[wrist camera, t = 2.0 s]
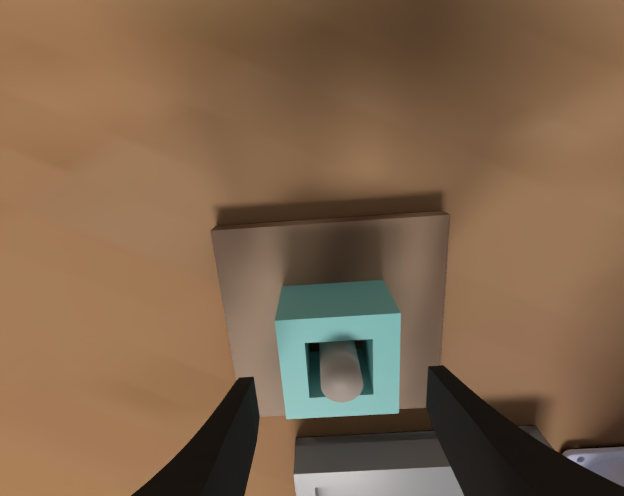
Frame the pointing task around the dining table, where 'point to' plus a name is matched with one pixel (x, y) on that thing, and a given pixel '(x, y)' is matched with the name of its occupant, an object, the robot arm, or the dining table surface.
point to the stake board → (333, 269)
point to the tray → (377, 465)
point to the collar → (338, 327)
